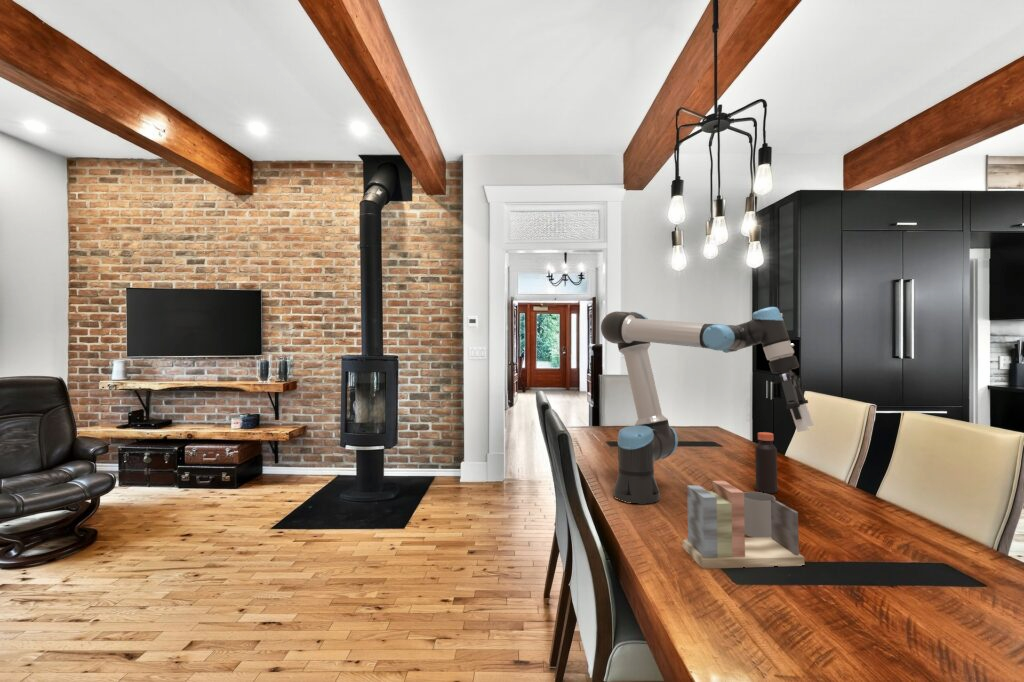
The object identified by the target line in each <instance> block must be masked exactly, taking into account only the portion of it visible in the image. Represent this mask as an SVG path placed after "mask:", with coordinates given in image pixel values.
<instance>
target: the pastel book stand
mask: <svg viewBox="0 0 1024 682" xmlns="http://www.w3.org/2000/svg"><path fill="white" fill-rule="evenodd" d="M744 492H745V491H742V490H741V489H739V488H737V487H736V486H734V485H732V484H730V483H729V482H727V481H726V480H712V489H711V490H707V489H705V488H704V487H702V486H701V485H700V484H699V485H698V484H697V485H696V484H694V485H692V484H691V485H688V484H687V485H686V495H687V502H686V503H687V505H686V506H687V507H686V508H687V509H686V510H687V539H682V549H683V550H684V551H685V552H687V553H688V555H689V556H690V557H691V558H692V559H693V560H694V562H695V563H697V565H698V566H699V567H700V568H701V569H702V570H709V569H735V568H736V569H741V568H742V569H743V567H745V568H773V567H774V566H778V567H800V566H802V565H805V556H803V554H801V553H800V550H799V549H800V548H799V512H798V511H796V510H795V509H793V508H791V507H789V506H787V505H785V504H784V503H782V502H780V501H779V500H777V499H776V498H775V499H771V537H755V538H753V537H745V536H746V535H745V524H744ZM774 568H775V567H774Z"/></svg>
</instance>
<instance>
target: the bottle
mask: <svg viewBox="0 0 1024 682" xmlns="http://www.w3.org/2000/svg"><path fill="white" fill-rule="evenodd" d="M774 439H775V438H774V433H772V432H769V431H768V432H767V431H763V432H761V431H760V432H757V441H758V443H757V445H756V446H754V453H755V454H754V455H755V456H754V457H755V459H754V460H755V463H754V464H755V465H754V466H755V468H754V469H755V490H756V491H757V490H758V491H757V492H759V491H760V492H761V493H763V492H764V493H766V494H777V492H778V449H777V447H776V445H774V443H773V442H774Z"/></svg>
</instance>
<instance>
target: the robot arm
mask: <svg viewBox="0 0 1024 682" xmlns="http://www.w3.org/2000/svg"><path fill="white" fill-rule="evenodd" d="M751 315H752V319H750V320H749V321H746V322H743V323H740V324H736V325H735V324H732V325H731V324H719V323H703V322H691V321H690V322H689V321H674V320H664V319H663V320H662V319H661V320H660V319H649V318H648V317H647V316H646V315H644V314H642V313H639V312H635V311H631V312H630V311H612V312H609V313H608V314H606V315H605V316H604V317H603V319H602V321H601V323H600V331H601V335H602V337H603V338H604V339H605V340H606V341H607V342H609V343H612V344H617V348H618V352H619V353H621V354H622V355H623V357H624V360H625V361H624V362H625V366H626V370H627V374H628V379H629V384H630V388H631V393H632V398H633V402H634V406H635V410H636V415H637V416H636V417H637V420H636V422H635V424H634V425H632V426H631V425H628V426H625V427H622V428H621V429H619V431H618V435H617V441H616V442H617V454H618V455H617V460H618V462H617V463H618V466H617V467H618V475H617V478H616V480H615V484H614V487H613V497H614V496H615V497H616V498H618V499H620V500H623V501H626V502H631V503H639V504H638V505H647V504H646V503H652V504H654V503H653V502H656V501H658V500H659V499H660V500H661V495H660V490H659V486H658V483H657V480H656V478H655V467H654V466H655V465H654V462H656V461H660V460H664V459H666V458H668V457H670V456H671V455H673V454H674V453H675V451H676V450H677V448H678V445H679V439H678V434H677V432H676V431H675V429H674V428H672V426H671V425H670V424H669V419H668V418H667V417H666V416H664V415H663V413H662V408H661V403H660V399H659V394H658V391H657V387H656V382H655V378H654V374H653V368H652V364H651V360H650V355H649V352H648V350H649V348H650V346H651V343H652V344H653V343H654V344H662V345H663V344H664V345H672V346H681V347H692V348H693V347H694V348H701V349H709V350H713V351H718V352H719V351H721V352H723V353H725V354H727V353H732V352H738V351H740V350H743V349H746V348H749V347H752V346H755V345H759V344H761V345H762V349H763V352H764V354H765V358H766V360H767V361H769V362H768V365H769V368H770V369H769V370H770V373H772V374H779V373H780V374H779V377H778V378H779V380H780V382H781V385H782V390H783V394H784V397H785V401H786V406H785V408H786V410H790V413H791V416H792V420H793V423H794V425H795V428H796V431H797V433H800V432H806V431H809V427H811V426H814V422H813V420H812V417H811V415H810V414H811V413H810V411H809V409H808V406H807V404H809V401H808V399H806V398H805V396H804V393H803V391H802V389H801V386H800V383H799V382H798V377H797V375H796V373H795V372H793V371H792V370H796V369H798V368H799V367H800V364H799V361H798V358H797V356H796V355H794V354H795V349H794V346H795V344H794V343H791V339H790V337H789V334H788V329H787V327H786V324H785V321H784V320H785V319H783V316H782V314H781V311H780V309H779V308H778V307H777V306H768V307H764V308H761V309H759V310H757V311H756V310H755V311H754V312H753V313H751ZM660 500H659V501H660ZM659 501H658V502H659ZM656 503H657V502H656Z"/></svg>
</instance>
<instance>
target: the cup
mask: <svg viewBox="0 0 1024 682" xmlns="http://www.w3.org/2000/svg"><path fill="white" fill-rule="evenodd" d="M743 492H744V524H745V536H747V537H749V538H755V537H771V499H775V500H776V497H775V496H774V495H771V494H770V493H763V492H759V491H746V492H745V491H743Z"/></svg>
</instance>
